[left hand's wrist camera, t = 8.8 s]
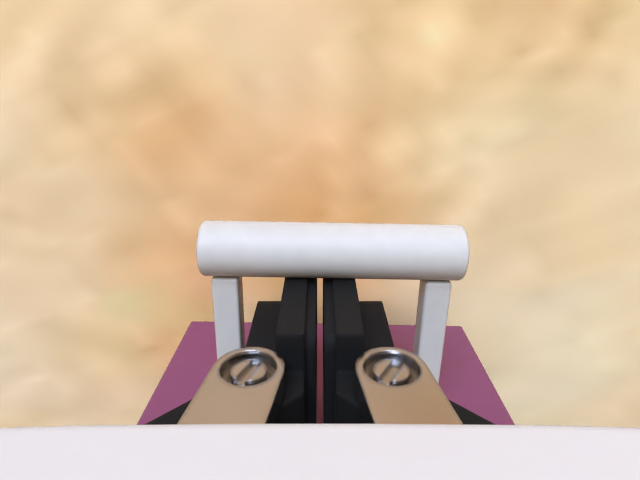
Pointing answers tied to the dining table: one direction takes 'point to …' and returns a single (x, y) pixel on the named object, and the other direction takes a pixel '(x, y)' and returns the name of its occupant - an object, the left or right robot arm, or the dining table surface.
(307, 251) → the drawer
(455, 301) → the dining table surface
